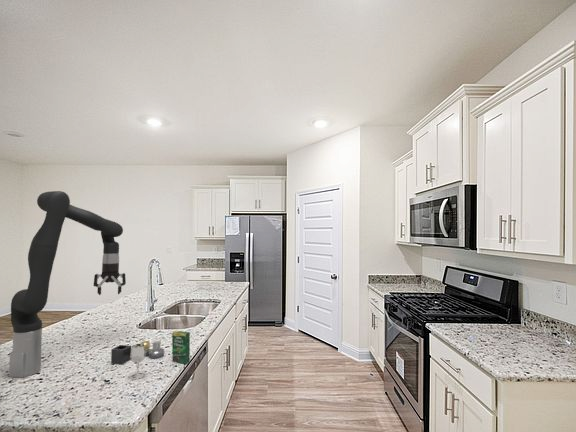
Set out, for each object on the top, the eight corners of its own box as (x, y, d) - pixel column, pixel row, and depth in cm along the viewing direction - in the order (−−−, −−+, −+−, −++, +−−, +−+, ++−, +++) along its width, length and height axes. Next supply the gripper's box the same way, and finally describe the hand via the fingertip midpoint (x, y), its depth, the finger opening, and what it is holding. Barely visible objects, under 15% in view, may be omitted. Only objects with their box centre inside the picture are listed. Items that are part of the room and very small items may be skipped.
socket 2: (146, 352, 155) (146, 344, 155) (138, 352, 156) (138, 343, 156) (151, 349, 159) (151, 341, 159) (143, 349, 160) (143, 340, 160)
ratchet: (159, 359, 148) (159, 344, 148) (123, 356, 150) (123, 342, 151) (166, 354, 154) (166, 339, 154) (132, 351, 157) (132, 337, 157)
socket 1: (122, 364, 142) (123, 350, 142) (111, 363, 143) (111, 349, 143) (131, 359, 148) (131, 345, 148) (119, 358, 148) (120, 344, 149)
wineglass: (141, 371, 135) (141, 342, 135) (148, 375, 131) (148, 345, 132) (126, 376, 130) (127, 346, 131) (133, 381, 127) (134, 349, 127)
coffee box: (171, 361, 145) (171, 331, 146) (175, 359, 148) (176, 329, 148) (185, 364, 142) (185, 334, 142) (190, 362, 145) (190, 332, 145)
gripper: (93, 263, 162) (92, 296, 162) (125, 262, 168) (124, 294, 167) (96, 261, 169) (94, 293, 169) (126, 261, 175) (125, 292, 174)
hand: (109, 294), depth 168 cm, fingers open, 8 cm apart
